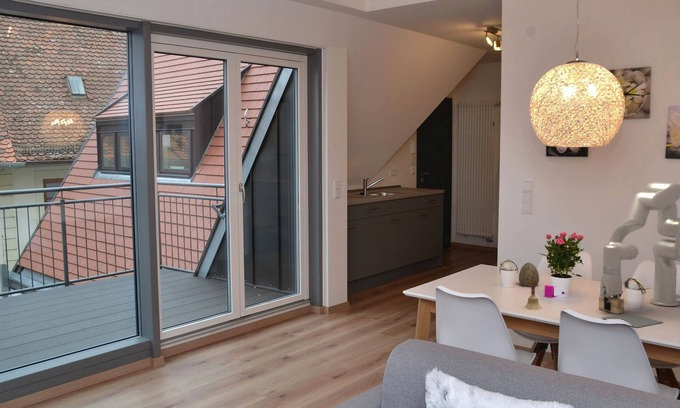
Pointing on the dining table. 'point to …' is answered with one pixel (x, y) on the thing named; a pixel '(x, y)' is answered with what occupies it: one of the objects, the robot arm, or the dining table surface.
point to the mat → (634, 320)
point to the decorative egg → (528, 275)
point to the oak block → (613, 305)
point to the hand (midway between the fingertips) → (611, 308)
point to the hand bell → (533, 297)
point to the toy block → (549, 291)
